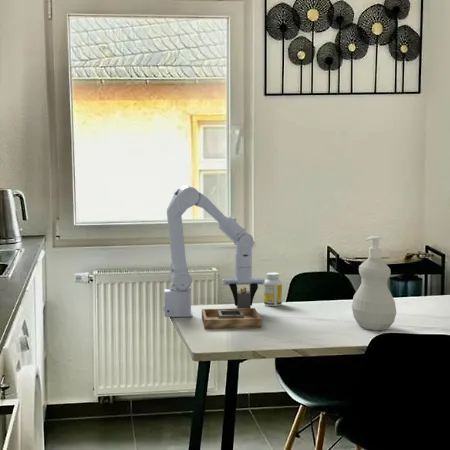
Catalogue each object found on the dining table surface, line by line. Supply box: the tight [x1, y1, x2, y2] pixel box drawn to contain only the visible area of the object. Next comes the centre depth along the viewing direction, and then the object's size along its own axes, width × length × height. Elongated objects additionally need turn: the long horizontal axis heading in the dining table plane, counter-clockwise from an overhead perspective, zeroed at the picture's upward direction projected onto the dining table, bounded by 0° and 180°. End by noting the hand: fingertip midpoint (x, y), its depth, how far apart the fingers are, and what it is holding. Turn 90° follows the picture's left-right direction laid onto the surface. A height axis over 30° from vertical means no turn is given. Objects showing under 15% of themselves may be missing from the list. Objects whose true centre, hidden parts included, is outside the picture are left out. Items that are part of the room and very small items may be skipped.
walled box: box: [201, 307, 262, 330], centre depth 259 cm, size 18×16×3 cm
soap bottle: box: [351, 235, 397, 331], centre depth 252 cm, size 17×12×29 cm
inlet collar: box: [217, 310, 244, 319], centre depth 259 cm, size 8×8×2 cm
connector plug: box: [235, 287, 251, 308], centre depth 275 cm, size 4×4×8 cm
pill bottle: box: [263, 271, 283, 307], centre depth 287 cm, size 6×6×12 cm
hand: (243, 305), depth 275 cm, fingers closed on connector plug, 4 cm apart
